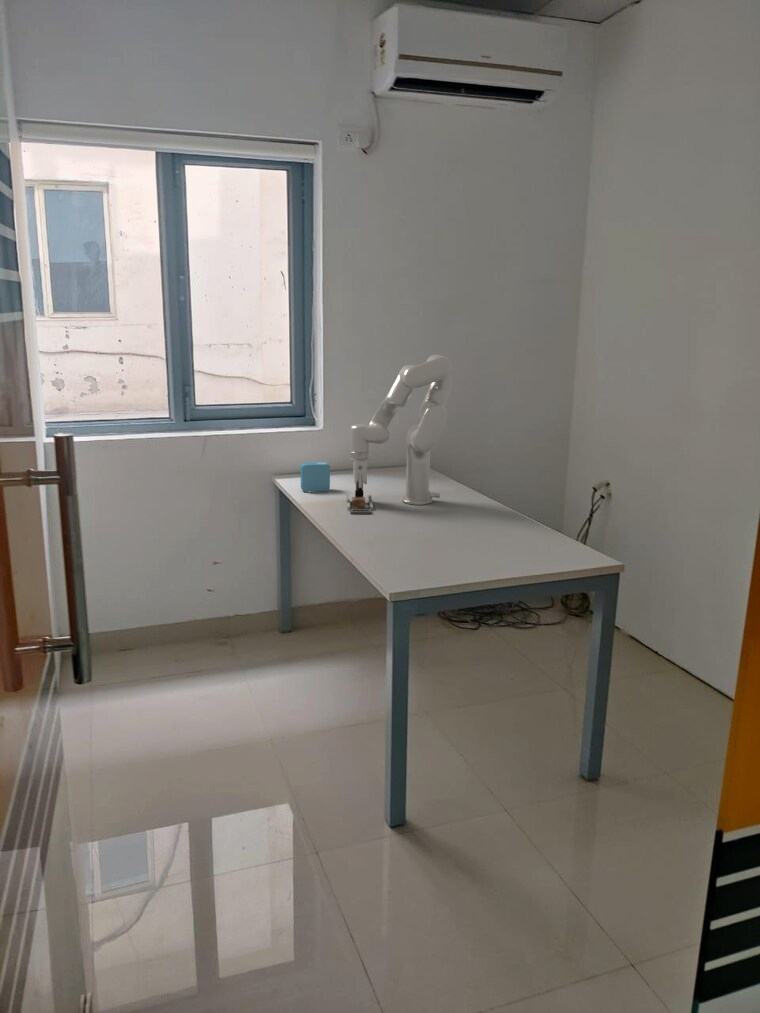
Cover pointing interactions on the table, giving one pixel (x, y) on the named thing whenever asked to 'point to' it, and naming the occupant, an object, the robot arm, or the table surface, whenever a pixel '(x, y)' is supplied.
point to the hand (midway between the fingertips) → (359, 499)
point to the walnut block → (358, 502)
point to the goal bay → (349, 506)
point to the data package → (315, 476)
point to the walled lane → (369, 499)
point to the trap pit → (360, 511)
